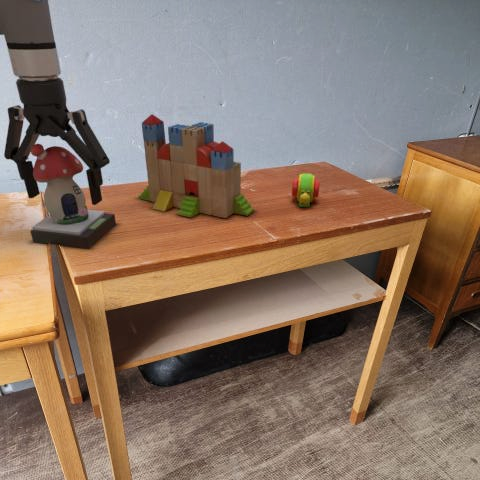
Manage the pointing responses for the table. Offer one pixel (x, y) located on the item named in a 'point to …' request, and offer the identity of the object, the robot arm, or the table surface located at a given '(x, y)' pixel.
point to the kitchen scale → (74, 230)
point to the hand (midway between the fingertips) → (65, 199)
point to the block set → (191, 171)
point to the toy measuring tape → (305, 189)
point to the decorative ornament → (60, 183)
